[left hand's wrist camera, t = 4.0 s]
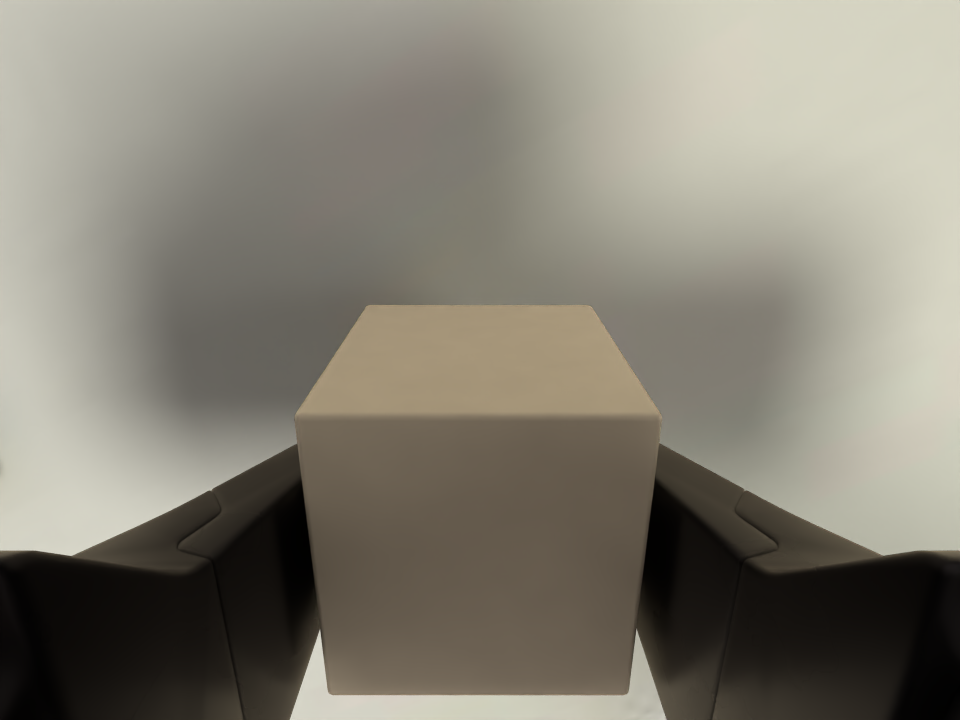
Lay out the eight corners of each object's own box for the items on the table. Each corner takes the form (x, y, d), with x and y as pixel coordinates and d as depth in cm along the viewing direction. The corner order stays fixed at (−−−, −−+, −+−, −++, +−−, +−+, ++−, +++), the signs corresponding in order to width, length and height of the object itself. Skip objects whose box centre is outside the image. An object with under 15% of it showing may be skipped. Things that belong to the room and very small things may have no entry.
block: (592, 304, 12) (665, 415, 7) (577, 503, 13) (629, 698, 9) (365, 303, 12) (291, 415, 7) (379, 503, 13) (326, 698, 9)
